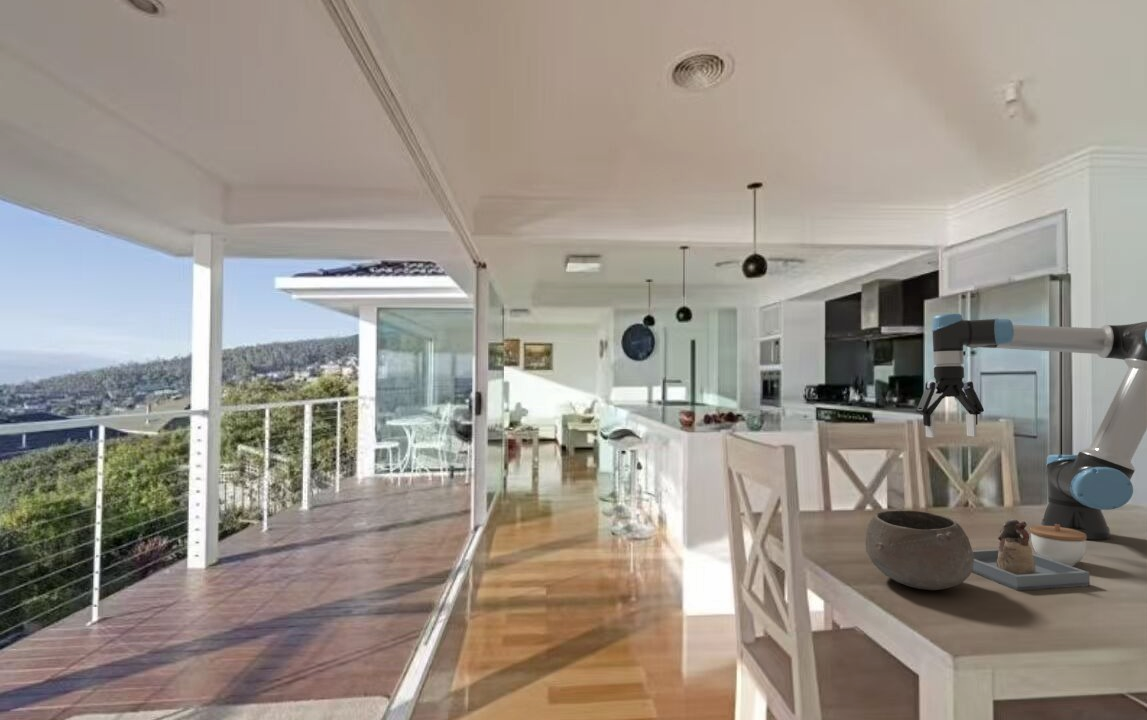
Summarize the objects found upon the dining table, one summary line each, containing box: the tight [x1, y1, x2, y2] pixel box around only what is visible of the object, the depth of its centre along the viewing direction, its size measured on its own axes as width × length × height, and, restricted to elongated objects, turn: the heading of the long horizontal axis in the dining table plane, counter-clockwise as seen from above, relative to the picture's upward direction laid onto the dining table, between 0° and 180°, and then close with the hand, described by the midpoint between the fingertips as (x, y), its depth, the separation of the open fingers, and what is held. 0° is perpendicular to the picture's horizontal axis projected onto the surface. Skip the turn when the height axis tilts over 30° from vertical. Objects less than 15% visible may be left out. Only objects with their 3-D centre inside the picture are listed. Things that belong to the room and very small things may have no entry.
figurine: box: [997, 518, 1035, 575], centre depth 132 cm, size 7×7×12 cm
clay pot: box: [864, 510, 974, 591], centre depth 126 cm, size 21×21×15 cm
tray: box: [971, 548, 1091, 592], centre depth 132 cm, size 18×18×3 cm
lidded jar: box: [1029, 524, 1088, 567], centre depth 140 cm, size 11×11×9 cm
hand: (951, 436), depth 167 cm, fingers open, 13 cm apart
